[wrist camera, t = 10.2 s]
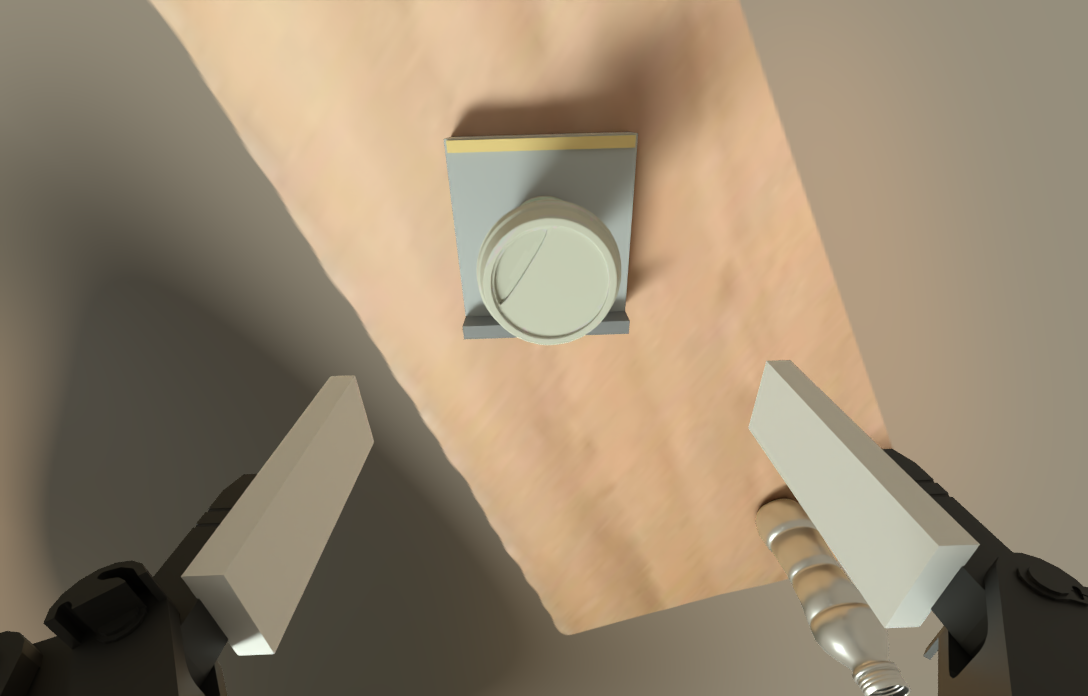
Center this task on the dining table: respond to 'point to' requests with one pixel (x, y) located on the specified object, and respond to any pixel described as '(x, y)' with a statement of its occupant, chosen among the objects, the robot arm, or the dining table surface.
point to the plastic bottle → (830, 599)
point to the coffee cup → (549, 271)
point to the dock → (529, 171)
